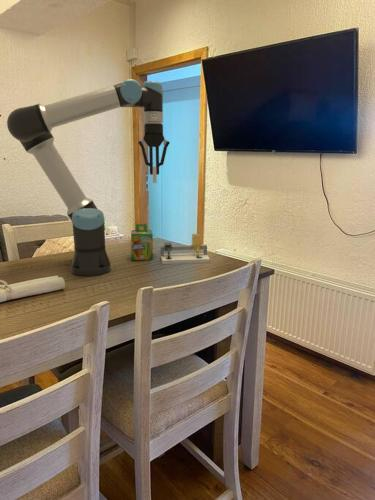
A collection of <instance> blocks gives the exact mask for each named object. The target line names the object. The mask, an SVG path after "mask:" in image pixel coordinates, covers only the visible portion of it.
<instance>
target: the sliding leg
mask: <svg viewBox="0 0 375 500" xmlns="http://www.w3.org/2000/svg"><path fill="white" fill-rule="evenodd" d="M191 245H193V250H192V251H196V253H197V257H199V253H200V252H199V251H200V250H201V249H200V245H201V235H200V234H199V233H191Z"/></svg>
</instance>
